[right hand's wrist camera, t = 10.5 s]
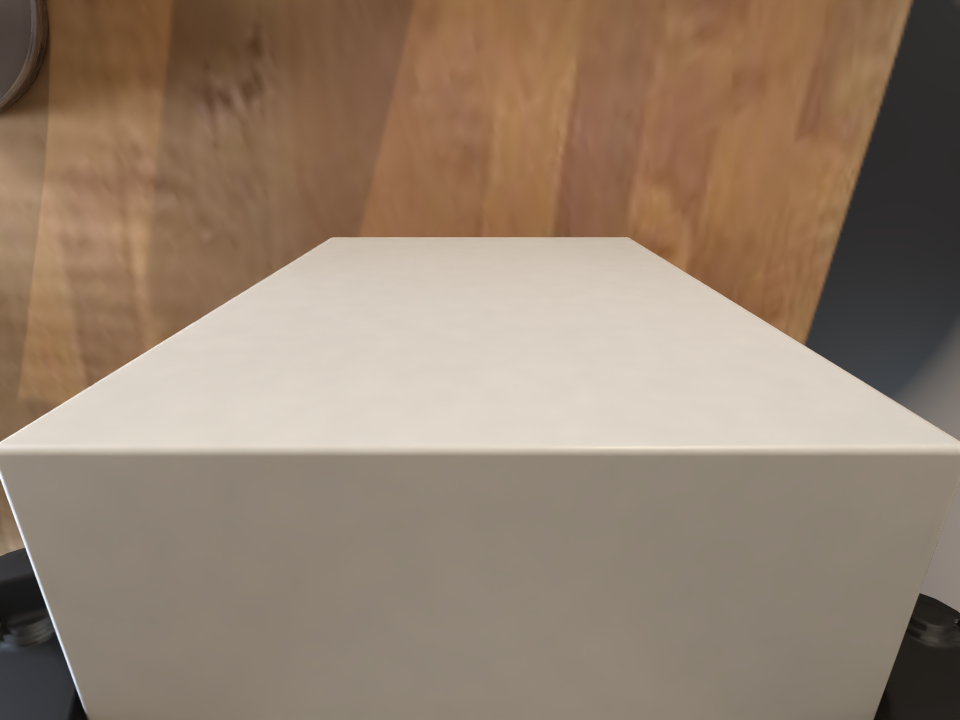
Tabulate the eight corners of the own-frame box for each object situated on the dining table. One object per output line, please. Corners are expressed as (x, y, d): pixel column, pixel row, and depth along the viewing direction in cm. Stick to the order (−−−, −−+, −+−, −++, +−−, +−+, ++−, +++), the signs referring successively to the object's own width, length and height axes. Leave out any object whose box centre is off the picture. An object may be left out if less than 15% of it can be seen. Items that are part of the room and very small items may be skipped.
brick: (605, 495, 19) (780, 984, 8) (355, 495, 19) (180, 984, 8) (629, 236, 16) (978, 447, 5) (330, 236, 16) (-17, 447, 5)
